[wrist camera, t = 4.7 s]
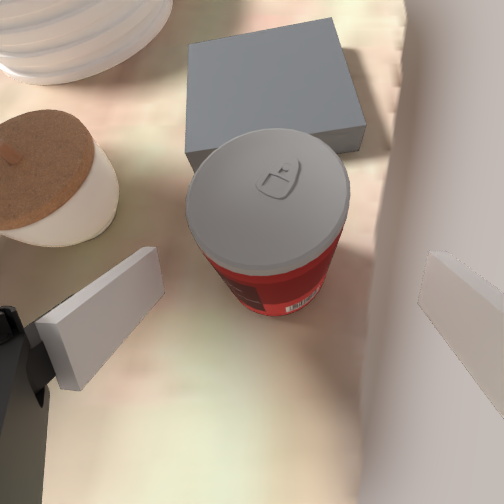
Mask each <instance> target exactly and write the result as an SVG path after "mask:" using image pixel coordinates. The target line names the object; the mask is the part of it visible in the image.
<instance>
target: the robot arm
mask: <svg viewBox="0 0 504 504" xmlns="http://www.w3.org/2000/svg"><path fill="white" fill-rule="evenodd" d="M164 294H165V290H164V285H163V279H162V273H161V268H160V262H159V256H158V251H157V247H142V248H141V249H139V250H138V251H136V252H135V253H133V254H132V255H131V256H129V257H128V258H126V259H125V260H123V261H122V262H120V263H119V264H118V265H116V266H115V267H113V268H112V269H110V270H109V271H108V272H106V273H105V274H103V275H102V276H100V277H99V278H97V279H96V280H95V281H93V282H92V283H90V284H89V285H87V286H86V287H85V288H83V289H82V290H80V291H79V292H77V293H76V294H73V295H71V296H70V297H68V298H67V299H65V300H64V301H62V302H61V304H58V305H57V306H55V307H54V308H53V309H52V310H49V311H48V312H47V313H45V314H44V315H42V316H41V317H39V318H38V319H36V320H35V321H33V322H32V323H31V324H29V325H28V326H26V327H25V328H23V325H22V323H21V320H20V318H19V316H18V313H17V311H16V308H15V307H12V306H1V307H0V504H42V491H43V478H44V465H45V451H46V438H47V425H48V411H49V398H50V392H49V388H48V386H47V384H48V383H49V382H50V381H51V380H52V379H53V378H54V377H55V376H56V378H57V381H58V384H59V386H60V389H64V390H74V391H81V390H82V389H83V388H84V387H85V386H86V384H87V383H88V382H89V381H90V380H91V379H92V377H93V376H94V375H95V374H96V373H97V372H98V370H99V369H100V368H101V367H102V366H103V365H104V363H105V362H106V361H107V360H108V359H109V358H110V356H111V355H112V354H113V353H114V352H115V351H116V349H117V348H118V347H119V346H120V345H121V344H122V342H123V341H124V340H125V339H126V338H127V337H128V335H129V334H130V333H131V332H132V331H133V330H134V328H135V327H136V326H137V325H138V324H139V323H140V321H141V320H142V319H143V318H144V317H145V316H146V314H147V313H148V312H149V311H150V310H151V309H152V307H153V306H154V305H155V304H156V303H157V302H158V300H159V299H160V298H161V297H162V296H163V295H164ZM418 305H419V306H420V307H421V309H422V310H423V311H424V313H425V314H426V315H427V317H428V318H429V319H430V321H431V322H432V324H433V325H434V326H435V327H436V329H437V330H438V332H439V333H440V334H441V335H442V337H443V338H444V340H445V341H446V342H447V344H448V345H449V346H450V348H451V349H452V350H453V351H454V353H455V354H456V356H457V357H458V358H459V360H460V361H461V362H462V364H463V365H464V366H465V368H466V369H467V370H468V372H469V373H470V374H471V376H472V377H473V378H474V380H475V381H476V382H477V384H478V385H479V386H480V388H481V389H482V390H483V392H484V393H485V395H486V396H487V397H488V399H489V400H490V401H491V403H492V404H493V405H494V407H495V408H496V409H497V411H498V412H499V413H500V415H501V416H502V417H503V419H504V293H503V292H502V291H500V290H499V289H498V288H496V287H495V286H494V285H492V284H491V283H489V282H488V281H487V280H485V279H484V278H483V277H481V276H480V275H479V274H477V273H476V272H474V271H473V270H472V269H470V268H469V267H468V266H466V265H465V264H464V263H462V262H461V261H459V260H458V259H457V258H455V257H454V256H453V255H451V254H450V253H449V252H447V251H429V252H428V256H427V260H426V265H425V270H424V275H423V280H422V284H421V289H420V294H419V299H418Z"/></svg>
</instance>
